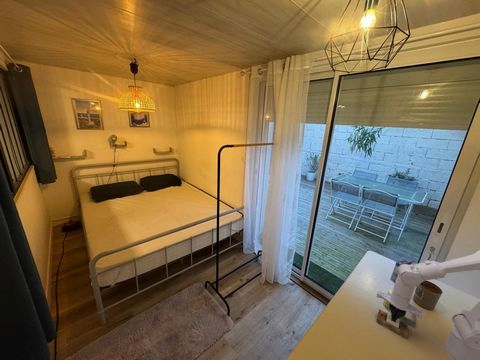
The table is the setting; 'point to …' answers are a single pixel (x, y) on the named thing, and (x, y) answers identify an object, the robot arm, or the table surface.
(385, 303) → the supplement bottle
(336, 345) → the table surface
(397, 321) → the button
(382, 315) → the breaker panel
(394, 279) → the ink cartridge box
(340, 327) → the table surface
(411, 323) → the lockout bracket
